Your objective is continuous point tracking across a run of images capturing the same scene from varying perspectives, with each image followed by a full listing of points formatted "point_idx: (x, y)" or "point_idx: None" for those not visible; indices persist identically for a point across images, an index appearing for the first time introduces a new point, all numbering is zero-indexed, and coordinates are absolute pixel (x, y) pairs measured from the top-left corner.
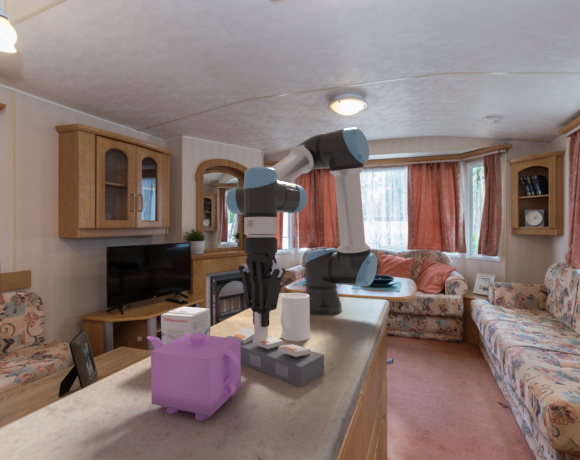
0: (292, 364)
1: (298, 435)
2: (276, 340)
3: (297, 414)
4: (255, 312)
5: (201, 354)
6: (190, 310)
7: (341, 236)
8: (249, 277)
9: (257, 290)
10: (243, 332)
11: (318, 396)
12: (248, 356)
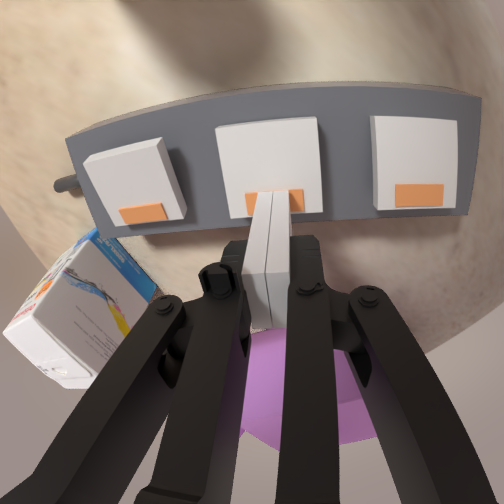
0: (441, 214)
1: (488, 291)
2: (299, 145)
3: (474, 262)
4: (263, 328)
5: (366, 435)
6: (47, 355)
7: None
8: (95, 489)
9: (231, 435)
10: (121, 190)
11: (486, 196)
12: None
